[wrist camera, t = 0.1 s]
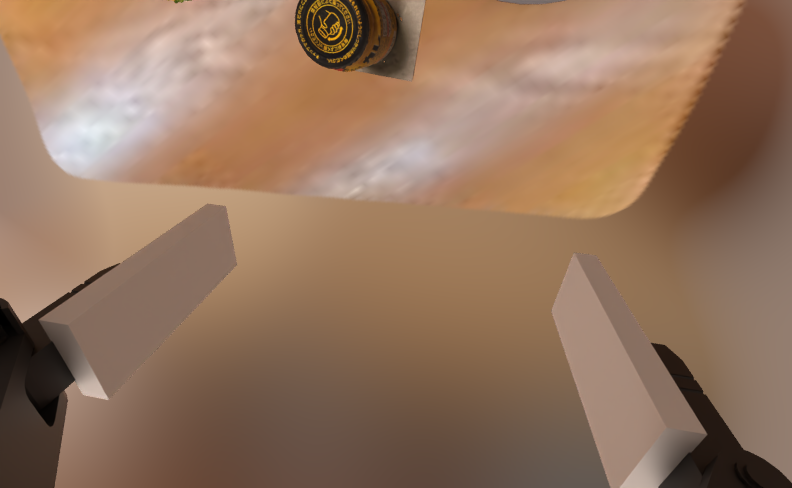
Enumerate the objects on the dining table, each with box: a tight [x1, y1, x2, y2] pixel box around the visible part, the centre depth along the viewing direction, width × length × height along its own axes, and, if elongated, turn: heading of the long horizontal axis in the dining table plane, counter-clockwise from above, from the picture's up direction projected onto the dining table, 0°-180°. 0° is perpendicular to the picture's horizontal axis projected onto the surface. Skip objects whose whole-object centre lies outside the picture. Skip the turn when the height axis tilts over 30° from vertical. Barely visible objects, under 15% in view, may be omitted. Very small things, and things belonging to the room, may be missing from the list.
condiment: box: [295, 0, 425, 81], centre depth 30 cm, size 7×8×12 cm
